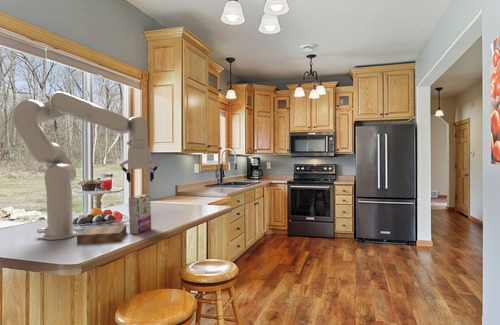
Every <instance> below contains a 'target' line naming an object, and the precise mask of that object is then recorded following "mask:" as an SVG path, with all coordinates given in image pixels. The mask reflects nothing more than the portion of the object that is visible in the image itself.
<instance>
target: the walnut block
mask: <svg viewBox="0 0 500 325" xmlns="http://www.w3.org/2000/svg"><path fill="white" fill-rule="evenodd" d="M126 234H127V225H126V224H123V225H121V224H120V225H117V224H116V225H100V226H98V225H97V226H88V227H86V228H84V229H83V230H82V231H80V232H79V233H77V235H76V245H85V244H86V245H87V244H101V243H116V242H117V243H119V242H121V240H122V239H123V238H124V237H125V236H126Z"/></svg>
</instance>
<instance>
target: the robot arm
mask: <svg viewBox="0 0 500 325" xmlns="http://www.w3.org/2000/svg"><path fill="white" fill-rule="evenodd" d="M67 115H68V116H70V117H73V118H76V119H78V120H81V121H82V122H86V123H89V124H90V123H91V124H95V125H97V126H101V127H104V128H106V129H108V130H110V131H113V132H116V133H117V134H122V135H123V134H129V135H130V136H129V138H130V139H129V141H126V145H128V146H130V147H128V151H127V160H125V161H123V162H121V163H119V166H120V168H121V170H122V171H123V172H124V173H125V174H126V181H127V182H128V183H131V180H132V179H131V178H132V177H131V173H130V172H131V171H132V170H145V169H146V170H149V171H150V173H149V182H153V180H154V179H155V178H154V177H155V176H154V175H155V173H154V172H156V170H157V169H158V168H159V165H160V162H158V161H156V160H154V159H152V154H151V148H150V146H149V140H148V138H149V137H148V120H147V117H144V116H132V117H130V118H129V117H125V116H124V115H122V114H120V113H117V112H114V111H112V110H109V109H106V108H104V107H101V106H99V105H97V104H94V103H92V102H90V101H88V100H85V99H82V98H80V97H76V96H74V95H71V94H70V93H67V92H64V91H56V92H54V93H52V94H51V95H50V98H49V100H47V101H44V102H39V101H37V100H34V99H24V100H22V101H20V102H18V104H17V105H16V106H15V108H14V109H13V112H12V122H13V125H14V128H15V130H16V131H17V132H18V135H19V136H20V137H21V139H22V140H23V142H24V144H25V145H26V147H27V149H28V151H29V152H30V154H31V155H32V156H33V158H34V160H35V161H36V162H38V163H39V164H44V165H46V167H47V168H46V169H45V172H44V184H45V192H46V194H45V195H46V216H47V217H46V222H47V226H46V227H44V228H43V227H40V228H39V227H38V228H37V229H36V233H37V234H44V235H43V237H42V238H43V240H48V241H53V240H55V241H57V240H65V239H70V238H74V237H77V235H78V232H77V231H75V230H74V229H73V228H74V226H73V224H74V222H73V193H72V191H73V190H72V184H71V183H73V181H75V180H76V177H77V170H76V167H75V166H74V164H73V163H72V162H71V160H70V158H69V157H68V155H67V153H66V151H64V149H63V147H61V146H60V145H59V144H57V143H55V142H52V141H51V140H50V139H49V137H48V136H47V134H46V132H45V131H44V129H43V127H41V125H40V123H46V122H49V121H52V120H55V119H56V120H57V119H58V118H61V117H65V116H67ZM126 164H127V168H126V167H125V165H126ZM152 164H154V165H155V166H154V167H153V166H152Z"/></svg>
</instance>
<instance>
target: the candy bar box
mask: <svg viewBox="0 0 500 325" xmlns="http://www.w3.org/2000/svg"><path fill="white" fill-rule="evenodd" d="M151 212H152V211H151V194H138V195H134V196H129V197H128V213H129V215H128V216H129V218H128V219H129V220H128V221H129V234H130V235H140V234H142V233H145V232H148V231H149V230H152V214H151Z"/></svg>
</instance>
